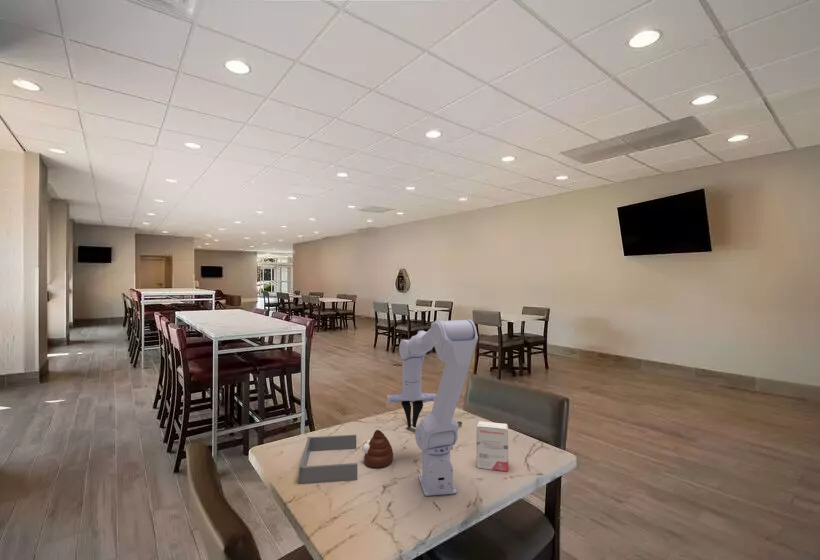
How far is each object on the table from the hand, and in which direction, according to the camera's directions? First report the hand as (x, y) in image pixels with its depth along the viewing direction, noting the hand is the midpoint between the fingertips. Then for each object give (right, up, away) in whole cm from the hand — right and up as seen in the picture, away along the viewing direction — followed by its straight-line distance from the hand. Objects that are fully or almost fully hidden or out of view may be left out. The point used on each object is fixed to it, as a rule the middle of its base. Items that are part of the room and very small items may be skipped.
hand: (411, 426), depth 111 cm
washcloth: (+8, -11, +24) cm, 28 cm away
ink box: (+23, -10, -5) cm, 25 cm away
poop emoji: (-10, -10, -2) cm, 14 cm away
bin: (-23, -9, -4) cm, 25 cm away
